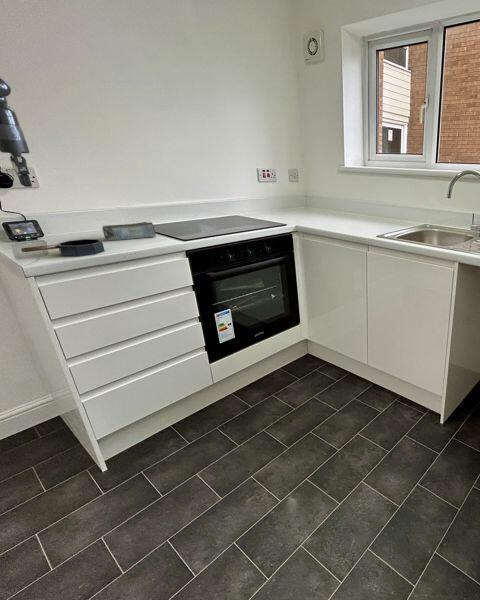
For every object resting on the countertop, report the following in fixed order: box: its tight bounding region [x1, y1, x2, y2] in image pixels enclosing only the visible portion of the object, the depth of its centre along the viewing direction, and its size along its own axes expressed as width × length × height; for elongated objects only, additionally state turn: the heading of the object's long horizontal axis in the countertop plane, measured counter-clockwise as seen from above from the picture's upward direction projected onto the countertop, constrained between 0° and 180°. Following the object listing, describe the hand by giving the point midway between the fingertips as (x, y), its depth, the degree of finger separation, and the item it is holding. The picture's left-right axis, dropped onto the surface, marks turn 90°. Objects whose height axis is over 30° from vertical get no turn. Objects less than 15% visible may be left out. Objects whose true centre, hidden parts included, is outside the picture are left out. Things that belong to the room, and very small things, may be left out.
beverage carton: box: [102, 221, 156, 242], centre depth 162 cm, size 8×19×7 cm, turn 127°
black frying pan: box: [20, 238, 106, 258], centre depth 132 cm, size 22×13×4 cm, turn 140°
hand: (26, 186), depth 131 cm, fingers open, 8 cm apart
